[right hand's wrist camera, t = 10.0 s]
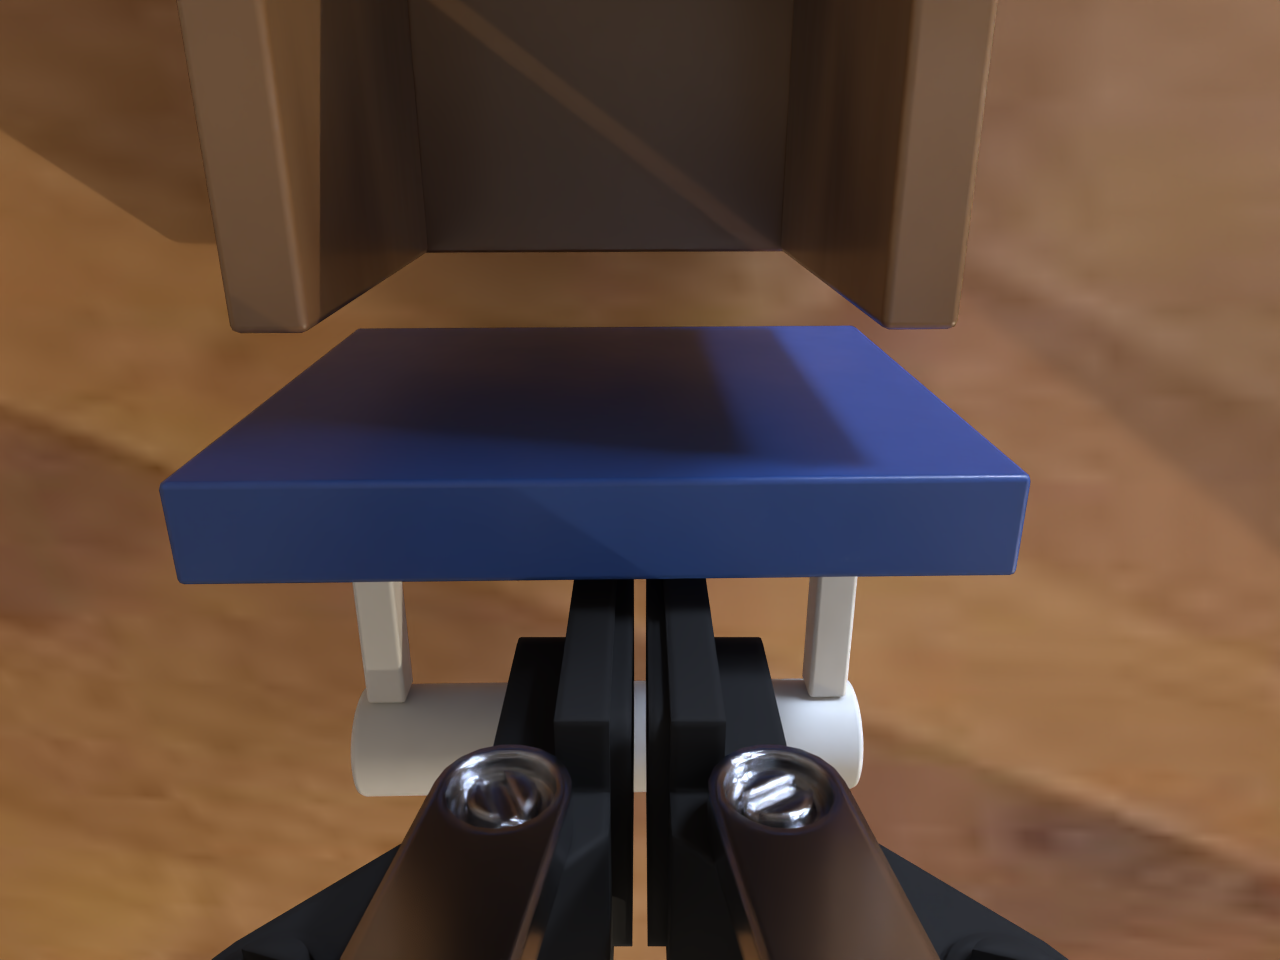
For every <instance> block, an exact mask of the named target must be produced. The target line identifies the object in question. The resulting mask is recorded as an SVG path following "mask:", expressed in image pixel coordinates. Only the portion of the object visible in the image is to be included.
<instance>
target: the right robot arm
mask: <svg viewBox="0 0 1280 960" xmlns="http://www.w3.org/2000/svg"><path fill="white" fill-rule="evenodd" d="M633 815H634V579H593V580H574V584H573V591H572V598H571V605H570V612H569V619H568V626H567V633H566V637H521V638H519V640H518V643H517V646H516V651H515V655H514V659H513V663H512V668H511V672H510V676H509V680H508V685H507V689H506V693H505V697H504V702H503V706H502V710H501V714H500V719H499V723H498V727H497V731H496V736H495V740H494V744H493V746H491V747H486V748H481V749H478V750H476V751H473V752H471V753H469V754H466V755H464V756H462V757H460V758H458V759H457V760H456V761H454V762H453V763H452V764H450V765H449V766H447V767H446V768H445V769H444V770H443V772H442V773H441V774H440V775H439V777H438V778H437V779H436V781H435V782H434V784H433V786H432V788H431V789H430V791H429V793H428V795H427V797H426V799H425V801H424V803H423V804H422V806H421V808H420V810H419V812H418V814H417V816H416V818H415V819H414V821H413V823H412V825H411V827H410V829H409V831H408V833H407V834H406V836H405V838H404V840H403V842H402V843H401V844H400V845H398V846H396V847H395V848H393V849H391V850H390V851H388V852H386V853H385V854H383V855H381V856H380V857H378V858H376V859H375V860H373V861H371V862H369V863H368V864H366V865H364V866H363V867H361V868H359V869H358V870H356V871H354V872H353V873H351V874H349V875H348V876H346V877H344V878H342V879H341V880H339V881H337V882H336V883H334V884H332V885H331V886H329V887H327V888H326V889H324V890H322V891H321V892H319V893H317V894H316V895H314V896H312V897H310V898H309V899H307V900H305V901H304V902H302V903H300V904H299V905H297V906H295V907H294V908H292V909H290V910H289V911H287V912H285V913H283V914H282V915H280V916H278V917H277V918H275V919H273V920H272V921H270V922H268V923H267V924H265V925H263V926H262V927H260V928H258V929H257V930H255V931H253V932H251V933H250V934H248V935H246V936H245V937H243V938H241V939H240V940H238V941H236V942H235V943H233V944H232V945H231V946H229V947H228V948H227V949H225V950H224V951H222V952H221V953H220V954H218V955H217V956H216V957H214V958H213V959H212V960H613V956H614V946H632V921H633ZM646 815H647V921H648V946H666V956H667V960H1068V959H1067V958H1066V957H1064V956H1063V955H1062V954H1060V953H1059V952H1058V951H1056V950H1055V949H1053V948H1052V947H1051V946H1049V945H1048V944H1047V943H1045V942H1044V941H1042V940H1040V939H1039V938H1037V937H1035V936H1034V935H1032V934H1030V933H1029V932H1027V931H1025V930H1023V929H1022V928H1020V927H1018V926H1017V925H1015V924H1013V923H1012V922H1010V921H1008V920H1007V919H1005V918H1003V917H1002V916H1000V915H998V914H997V913H995V912H993V911H991V910H990V909H988V908H986V907H985V906H983V905H981V904H980V903H978V902H976V901H975V900H973V899H971V898H970V897H968V896H966V895H964V894H963V893H961V892H959V891H958V890H956V889H954V888H953V887H951V886H949V885H948V884H946V883H944V882H943V881H941V880H939V879H938V878H936V877H934V876H932V875H931V874H929V873H927V872H926V871H924V870H922V869H921V868H919V867H917V866H916V865H914V864H912V863H911V862H909V861H907V860H905V859H904V858H902V857H900V856H899V855H897V854H895V853H894V852H892V851H890V850H889V849H887V848H885V847H884V846H882V845H880V844H879V843H878V842H877V840H876V838H875V836H874V834H873V833H872V831H871V829H870V827H869V825H868V823H867V821H866V819H865V818H864V816H863V814H862V812H861V810H860V808H859V806H858V804H857V803H856V801H855V799H854V797H853V795H852V793H851V791H850V789H849V788H848V786H847V784H846V782H845V781H844V779H843V778H842V777H841V775H840V774H839V773H838V772H837V770H836V769H835V768H834V767H833V766H831V765H830V764H828V763H827V762H826V761H824V760H823V759H822V758H820V757H818V756H816V755H814V754H811V753H809V752H807V751H804V750H802V749H799V748H794V747H789V746H787V744H786V740H785V736H784V731H783V727H782V723H781V719H780V714H779V710H778V706H777V702H776V697H775V693H774V689H773V685H772V680H771V676H770V672H769V668H768V663H767V659H766V655H765V651H764V646H763V643H762V640H761V638H759V637H714V633H713V626H712V619H711V612H710V605H709V598H708V591H707V584H706V578H682V579H646Z"/></svg>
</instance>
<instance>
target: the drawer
mask: <svg viewBox="0 0 1280 960" xmlns="http://www.w3.org/2000/svg"><path fill="white" fill-rule="evenodd" d="M176 1H177V7H178V13H179V19H180V25H181V31H182V37H183V43H184V49H185V55H186V61H187V67H188V73H189V80H190V86H191V92H192V98H193V104H194V110H195V116H196V122H197V128H198V134H199V140H200V146H201V152H202V158H203V164H204V170H205V176H206V182H207V188H208V194H209V200H210V206H211V212H212V219H213V225H214V231H215V237H216V243H217V249H218V255H219V261H220V267H221V273H222V279H223V285H224V291H225V297H226V303H227V309H228V315H229V321H230V326H231V328H232V330H233V331H236V332H239V333H302V332H305V331H307V330H309V329H310V328H312V327H313V326H315V325H316V324H318V323H319V322H321V321H322V320H324V319H325V318H327V317H329V316H330V315H332V314H333V313H335V312H336V311H338V310H339V309H341V308H342V307H344V306H345V305H347V304H348V303H350V302H351V301H353V300H354V299H356V298H357V297H359V296H360V295H362V294H363V293H365V292H366V291H368V290H370V289H371V288H373V287H374V286H376V285H377V284H379V283H380V282H382V281H383V280H385V279H386V278H388V277H389V276H391V275H392V274H394V273H395V272H397V271H398V270H400V269H401V268H403V267H404V266H406V265H408V264H409V263H411V262H412V261H414V260H415V259H417V258H418V257H420V256H421V255H423V254H424V253H457V252H709V251H784V252H785V253H786V254H788V255H789V256H790V257H792V258H793V259H794V260H796V261H797V262H798V263H799V264H801V265H802V266H803V267H805V268H806V269H807V270H809V271H810V272H811V273H813V274H814V275H815V276H817V277H818V278H819V279H821V280H822V281H823V282H824V283H826V284H827V285H828V286H830V287H831V288H832V289H834V290H835V291H836V292H838V293H839V294H840V295H842V296H843V297H844V298H845V299H847V300H848V301H849V302H851V303H852V304H853V305H855V306H856V307H857V308H859V309H860V310H861V311H863V312H864V313H865V314H867V315H868V316H869V317H870V318H872V319H873V320H874V321H876V322H877V323H878V324H880V325H881V326H882V327H885V328H887V329H948V328H951V327H954V326H955V325H956V323H957V320H958V313H959V305H960V297H961V289H962V282H963V274H964V266H965V258H966V250H967V242H968V234H969V226H970V218H971V210H972V202H973V194H974V186H975V178H976V170H977V163H978V155H979V147H980V139H981V131H982V123H983V115H984V107H985V99H986V91H987V83H988V75H989V67H990V59H991V51H992V43H993V36H994V28H995V20H996V12H997V4H998V0H176ZM1029 487H1030V477H1029V475H1028V474H1027V473H1026V472H1025V471H1023V470H1022V469H1021V468H1020V467H1019V466H1018V465H1016V464H1015V463H1014V462H1013V461H1012V460H1010V459H1009V458H1008V457H1007V456H1006V455H1005V454H1003V453H1002V452H1001V451H1000V450H999V449H998V448H996V447H995V446H994V445H993V444H992V443H991V442H989V441H988V440H987V439H986V438H985V437H983V436H982V435H981V434H980V433H979V432H978V431H976V430H975V429H974V428H973V427H972V426H971V425H969V424H968V423H967V422H966V421H965V420H963V419H962V418H961V417H960V416H959V415H958V414H956V413H955V412H954V411H953V410H952V409H951V408H949V407H948V406H947V405H946V404H945V403H944V402H942V401H941V400H940V399H939V398H938V397H936V396H935V395H934V394H933V393H932V392H931V391H929V390H928V389H927V388H926V387H925V386H924V385H922V384H921V383H920V382H919V381H918V380H916V379H915V378H914V377H913V376H912V375H911V374H909V373H908V372H907V371H906V370H905V369H904V368H902V367H901V366H900V365H899V364H898V363H897V362H895V361H894V360H893V359H892V358H891V357H889V356H888V355H887V354H886V353H885V352H884V351H882V350H881V349H880V348H879V347H878V346H877V345H875V344H874V343H873V342H872V341H871V340H869V339H868V338H867V337H866V336H865V335H864V334H862V333H861V332H860V331H859V330H858V329H857V328H855V327H853V326H737V327H560V328H384V329H358V330H356V331H355V332H354V333H352V334H351V335H350V336H348V337H347V338H346V339H345V340H343V341H342V342H341V343H339V344H338V345H337V346H336V347H334V348H333V349H332V350H330V351H329V352H328V353H327V354H325V355H324V356H323V357H321V358H320V359H319V360H318V361H316V362H315V363H314V364H313V365H311V366H310V367H309V368H307V369H306V370H305V371H304V372H302V373H301V374H300V375H298V376H297V377H296V378H295V379H293V380H292V381H291V382H289V383H288V384H287V385H286V386H284V387H283V388H282V389H281V390H279V391H278V392H277V393H275V394H274V395H273V396H272V397H270V398H269V399H268V400H266V401H265V402H264V403H263V404H261V405H260V406H259V407H257V408H256V409H255V410H254V411H252V412H251V413H250V414H248V415H247V416H246V417H245V418H243V419H242V420H241V421H240V422H238V423H237V424H236V425H234V426H233V427H232V428H231V429H229V430H228V431H227V432H225V433H224V434H223V435H222V436H220V437H219V438H218V439H216V440H215V441H214V442H213V443H211V444H210V445H209V446H208V447H206V448H205V449H204V450H202V451H201V452H200V453H199V454H197V455H196V456H195V457H193V458H192V459H191V460H190V461H188V462H187V463H186V464H184V465H183V466H182V467H181V468H179V469H178V470H177V471H176V472H174V473H173V474H172V475H170V476H169V477H168V478H167V479H165V480H164V481H163V482H161V484H160V488H159V492H160V496H161V501H162V506H163V511H164V516H165V520H166V525H167V530H168V535H169V540H170V545H171V549H172V554H173V559H174V564H175V569H176V573H177V578H178V581H179V582H180V583H182V584H239V583H327V582H352V583H353V591H354V598H355V606H356V614H357V621H358V629H359V637H360V645H361V652H362V660H363V668H364V675H365V683H366V688H365V689H364V691H363V692H362V694H361V697H360V699H359V702H358V705H357V708H356V712H355V716H354V721H353V727H352V736H351V767H352V774H353V779H354V783H355V786H356V789H357V791H358V792H359V793H360V794H362V795H364V796H421V795H428V793H429V791H430V789H431V788H432V786H433V784H434V782H435V781H436V779H437V778H438V777H439V775H440V774H441V773H442V772H443V770H444V769H445V768H446V767H447V766H449V765H450V764H452V763H453V762H454V761H456V760H457V759H458V758H460V757H462V756H464V755H466V754H469V753H471V752H473V751H476V750H478V749H481V748H486V747H491V746H493V744H494V740H495V736H496V731H497V727H498V723H499V719H500V714H501V710H502V706H503V702H504V697H505V693H506V689H507V685H508V683H441V684H412V682H413V678H412V669H411V659H410V650H409V641H408V632H407V622H406V613H405V604H404V594H403V585H402V582H416V581H505V580H593V579H682V578H771V577H810V581H809V595H808V608H807V621H806V635H805V648H804V662H803V675H802V676H803V679H771V680H772V685H773V689H774V693H775V697H776V702H777V706H778V710H779V714H780V719H781V723H782V727H783V731H784V736H785V740H786V744H787V746H789V747H794V748H799V749H802V750H804V751H807V752H809V753H811V754H814V755H816V756H818V757H820V758H822V759H823V760H824V761H826V762H827V763H828V764H830V765H831V766H833V767H834V768H835V769H836V770H837V772H838V773H839V774H840V775H841V777H842V778H843V779H844V781H845V782H846V784H847V786H848V788H849V789H850V788H852V787H855V786H856V785H857V783H858V781H859V778H860V774H861V770H862V763H863V731H862V722H861V715H860V709H859V705H858V701H857V697H856V695H855V692H854V689H853V687H852V685H851V683H850V682H849V681H848V669H849V659H850V648H851V638H852V627H853V617H854V607H855V596H856V586H857V577H859V576H948V575H1011V574H1014V572H1015V570H1016V566H1017V560H1018V554H1019V548H1020V542H1021V536H1022V530H1023V524H1024V517H1025V511H1026V505H1027V499H1028V493H1029ZM634 792H646V681H634Z"/></svg>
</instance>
